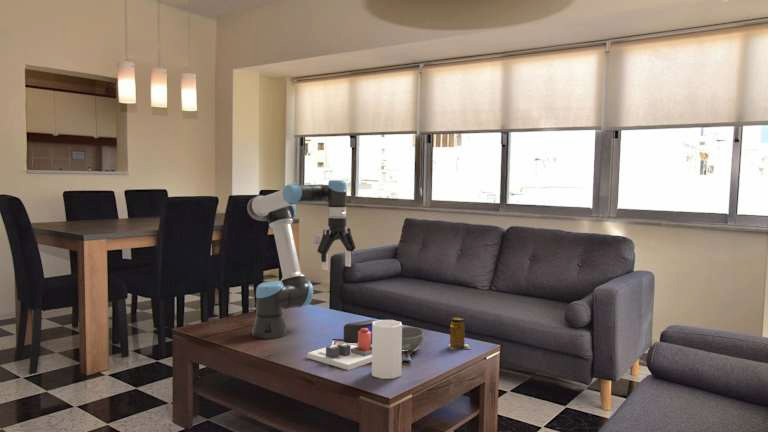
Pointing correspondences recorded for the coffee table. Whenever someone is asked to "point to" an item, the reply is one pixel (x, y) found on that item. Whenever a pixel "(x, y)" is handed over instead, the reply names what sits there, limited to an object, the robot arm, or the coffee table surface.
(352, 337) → the leaning round-cornered charcoal block
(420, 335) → the bowl
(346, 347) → the breaker
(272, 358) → the coffee table surface
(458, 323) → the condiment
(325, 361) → the panel
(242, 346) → the coffee table surface
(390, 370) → the white canister
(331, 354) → the breaker
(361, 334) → the cap
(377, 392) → the coffee table surface
